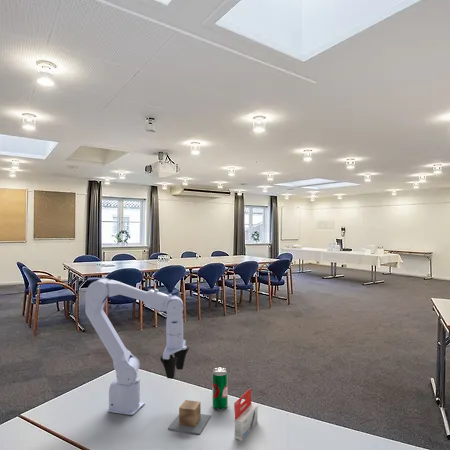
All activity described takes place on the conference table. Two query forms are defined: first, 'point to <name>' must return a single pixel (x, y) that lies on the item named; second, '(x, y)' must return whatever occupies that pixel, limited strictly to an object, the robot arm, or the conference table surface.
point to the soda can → (219, 388)
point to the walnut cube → (189, 413)
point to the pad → (188, 429)
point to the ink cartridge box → (244, 416)
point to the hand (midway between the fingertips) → (175, 373)
